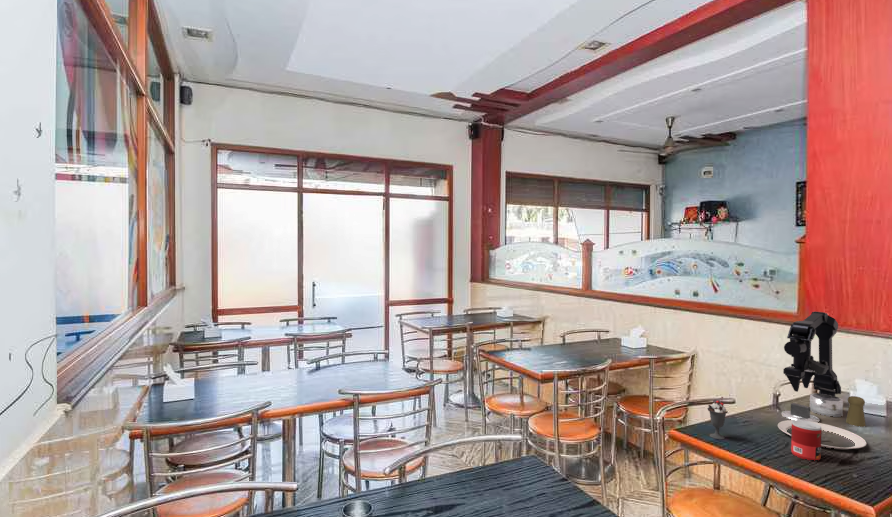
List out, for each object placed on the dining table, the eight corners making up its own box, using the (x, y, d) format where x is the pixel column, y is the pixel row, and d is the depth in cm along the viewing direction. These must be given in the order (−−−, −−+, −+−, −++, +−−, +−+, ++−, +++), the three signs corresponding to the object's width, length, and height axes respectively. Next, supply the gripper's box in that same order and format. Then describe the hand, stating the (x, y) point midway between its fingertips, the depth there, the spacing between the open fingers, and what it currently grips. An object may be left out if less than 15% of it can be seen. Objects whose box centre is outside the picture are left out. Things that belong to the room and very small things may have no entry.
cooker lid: (789, 411, 199) (789, 398, 199) (824, 420, 188) (825, 407, 188) (775, 416, 192) (776, 403, 192) (811, 426, 182) (812, 412, 181)
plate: (773, 438, 169) (773, 433, 169) (782, 420, 188) (782, 415, 188) (866, 460, 152) (866, 454, 152) (866, 437, 170) (866, 432, 170)
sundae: (729, 436, 170) (730, 397, 170) (725, 442, 165) (726, 401, 165) (709, 431, 174) (710, 393, 174) (704, 436, 169) (705, 397, 169)
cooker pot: (815, 406, 204) (816, 391, 204) (846, 414, 195) (847, 398, 194) (805, 410, 198) (805, 395, 198) (836, 418, 189) (837, 403, 189)
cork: (870, 426, 181) (870, 399, 180) (854, 426, 181) (855, 399, 180) (856, 421, 187) (857, 394, 186) (841, 420, 187) (842, 394, 186)
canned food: (822, 463, 149) (823, 430, 149) (792, 457, 153) (793, 425, 153) (818, 454, 155) (819, 422, 155) (789, 449, 160) (790, 418, 159)
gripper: (816, 359, 178) (815, 398, 178) (835, 354, 188) (834, 391, 188) (783, 353, 187) (782, 391, 188) (803, 348, 197) (802, 384, 197)
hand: (801, 389), depth 190 cm, fingers open, 9 cm apart
